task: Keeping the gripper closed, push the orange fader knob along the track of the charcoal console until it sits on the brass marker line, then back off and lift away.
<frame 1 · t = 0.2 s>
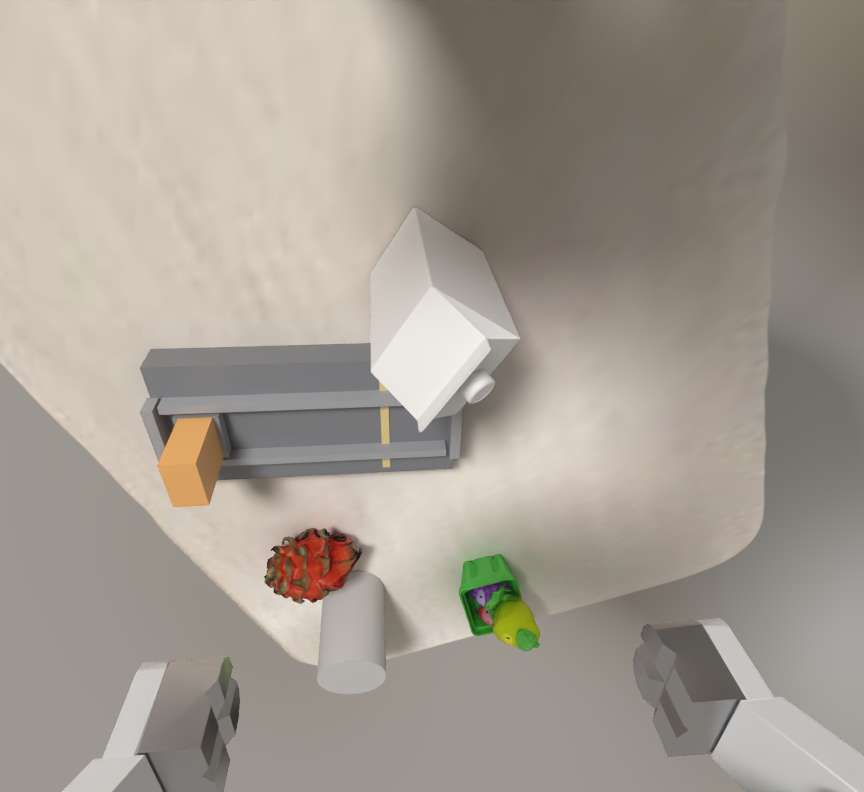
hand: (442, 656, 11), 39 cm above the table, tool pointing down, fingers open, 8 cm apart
dragon fruit: (316, 537, 68), on the table
fader: (195, 456, 49), point 7 cm above the table, slide at -10.0 cm
milk carton: (425, 261, 47), on the table
console: (314, 404, 55), on the table
fruit basket: (491, 574, 76), on the table
cup: (353, 587, 75), on the table
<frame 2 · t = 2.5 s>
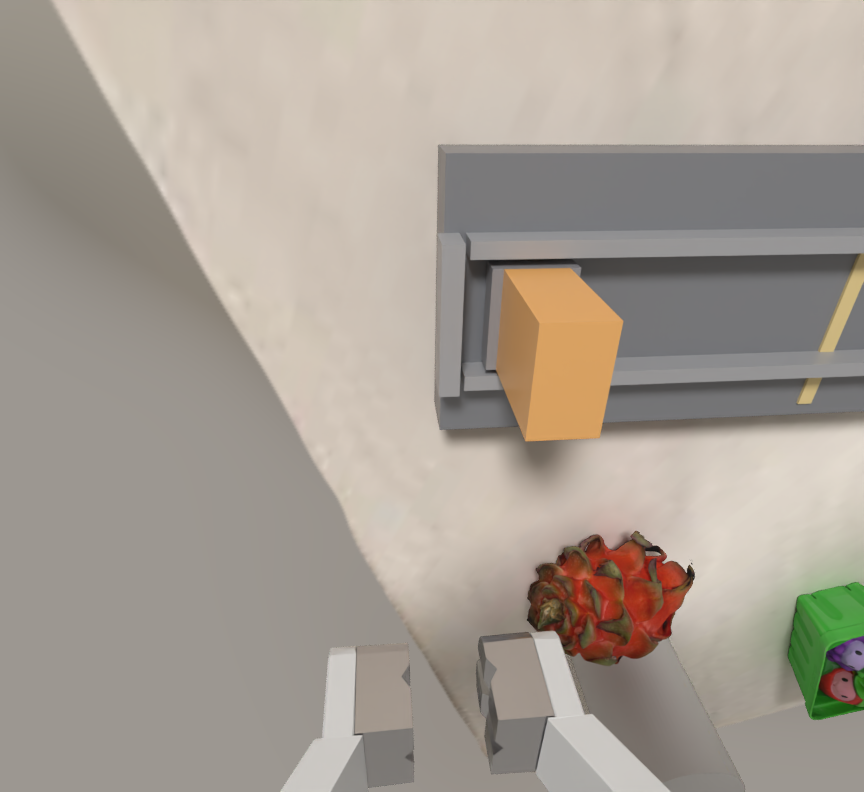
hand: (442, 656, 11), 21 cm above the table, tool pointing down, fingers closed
dragon fruit: (590, 552, 41), on the table
fader: (545, 342, 23), point 7 cm above the table, slide at -10.0 cm
console: (687, 283, 30), on the table
fruit basket: (825, 616, 48), on the table
cup: (615, 640, 47), on the table
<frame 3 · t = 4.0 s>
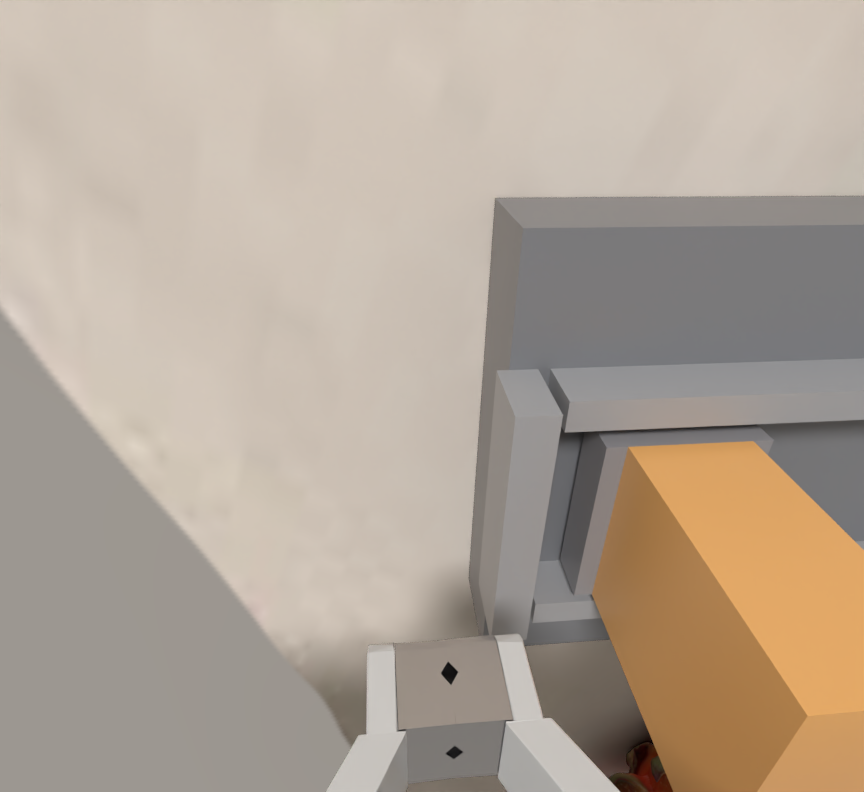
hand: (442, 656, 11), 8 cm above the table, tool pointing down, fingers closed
dragon fruit: (675, 737, 29), on the table
fader: (715, 602, 12), point 7 cm above the table, slide at -10.0 cm
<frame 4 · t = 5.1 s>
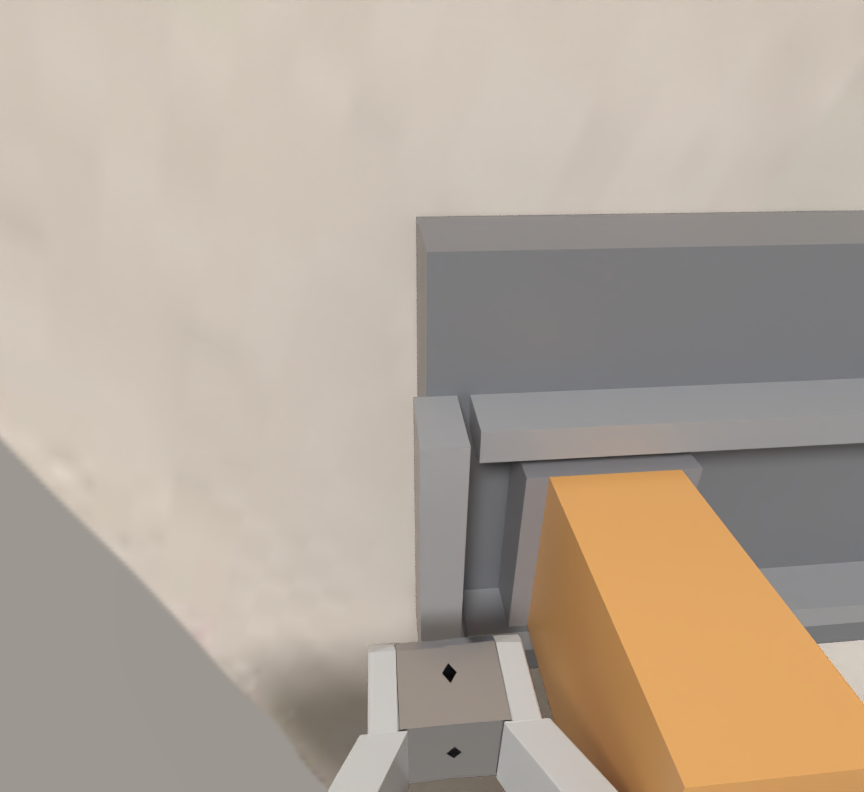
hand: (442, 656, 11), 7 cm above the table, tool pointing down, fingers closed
fader: (638, 640, 11), point 7 cm above the table, slide at -10.0 cm, touching gripper
console: (840, 428, 18), on the table
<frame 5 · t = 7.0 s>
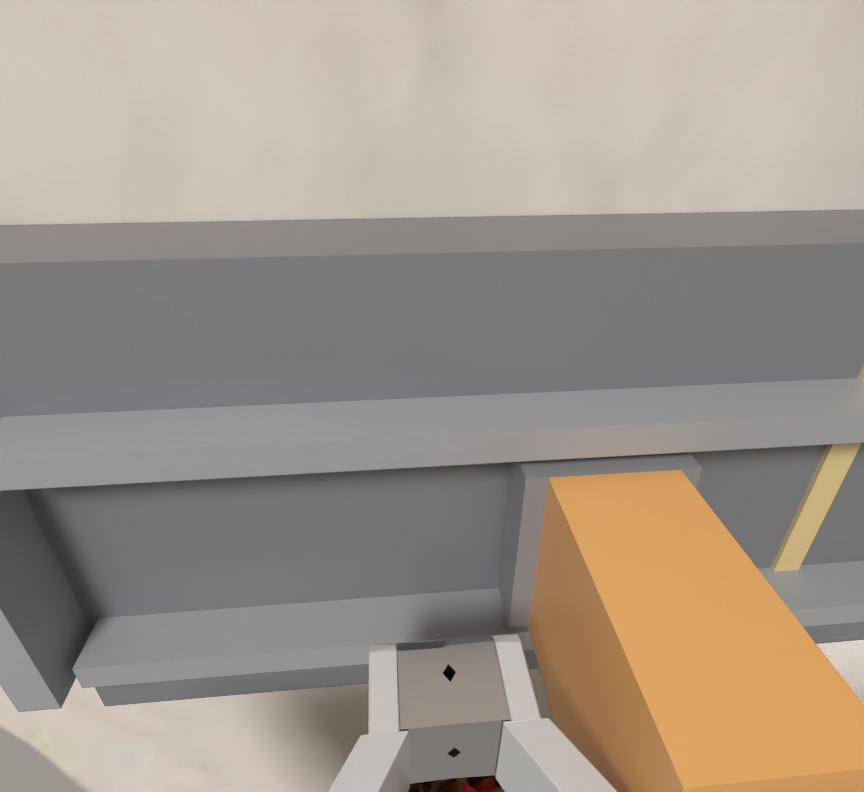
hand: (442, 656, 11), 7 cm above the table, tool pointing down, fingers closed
dragon fruit: (459, 776, 28), on the table
fader: (637, 641, 11), point 7 cm above the table, slide at 0.1 cm, touching gripper
console: (542, 444, 17), on the table
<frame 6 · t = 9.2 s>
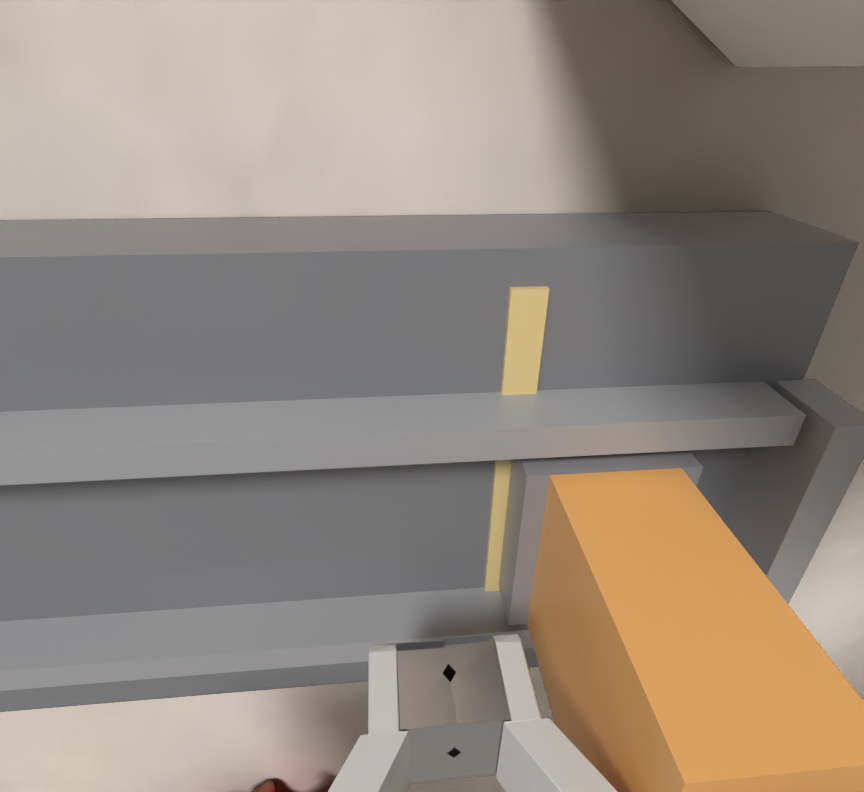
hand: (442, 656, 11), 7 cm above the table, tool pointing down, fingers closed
fader: (637, 638, 11), point 7 cm above the table, slide at 8.9 cm, touching gripper
console: (255, 456, 16), on the table
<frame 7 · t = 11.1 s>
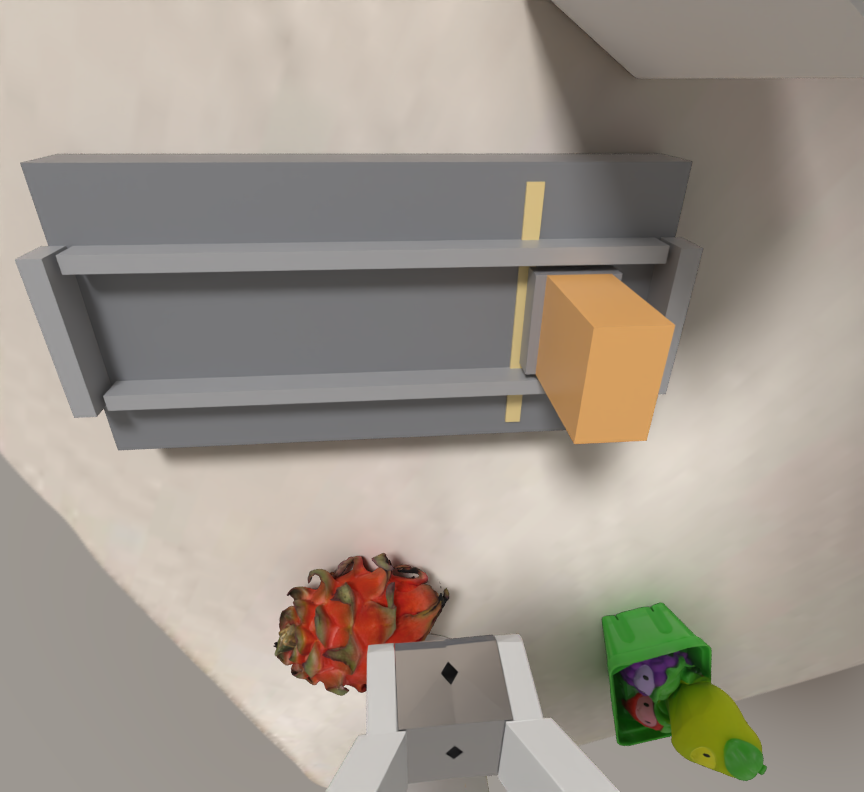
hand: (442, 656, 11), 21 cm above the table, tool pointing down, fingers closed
dragon fruit: (363, 573, 40), on the table
fader: (589, 347, 24), point 7 cm above the table, slide at 9.0 cm
console: (379, 297, 29), on the table
fruit basket: (640, 637, 47), on the table
cup: (418, 663, 45), on the table
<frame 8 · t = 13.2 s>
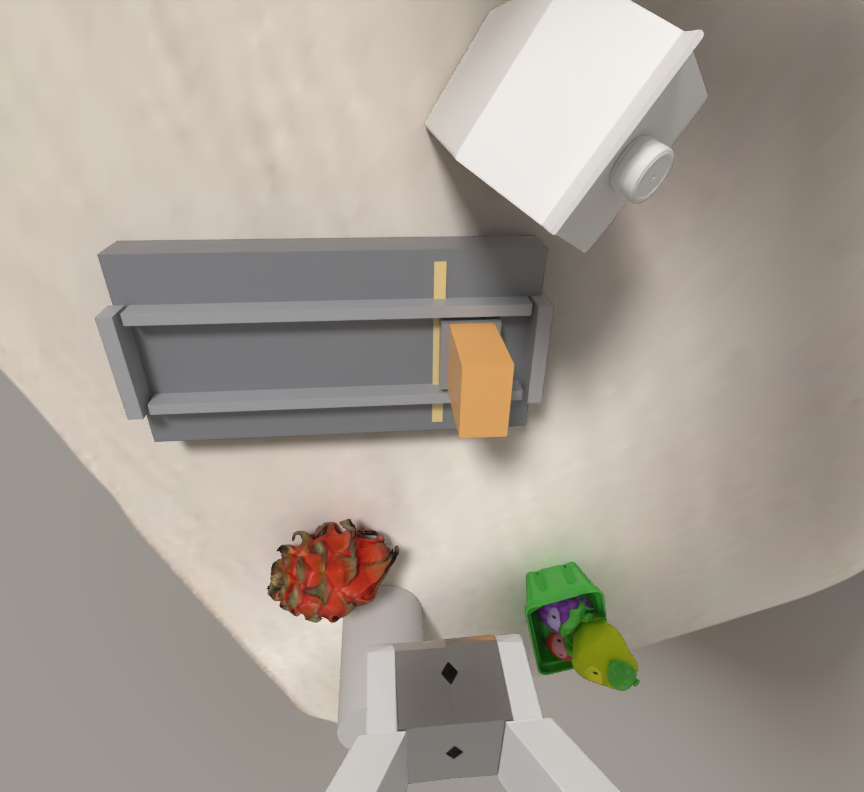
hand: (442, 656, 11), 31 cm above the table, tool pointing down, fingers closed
dragon fruit: (336, 537, 51), on the table
fader: (475, 373, 35), point 7 cm above the table, slide at 9.0 cm
milk carton: (501, 105, 34), on the table
console: (340, 332, 41), on the table
fruit basket: (559, 591, 59), on the table
cup: (382, 610, 57), on the table
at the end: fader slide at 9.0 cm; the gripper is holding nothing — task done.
